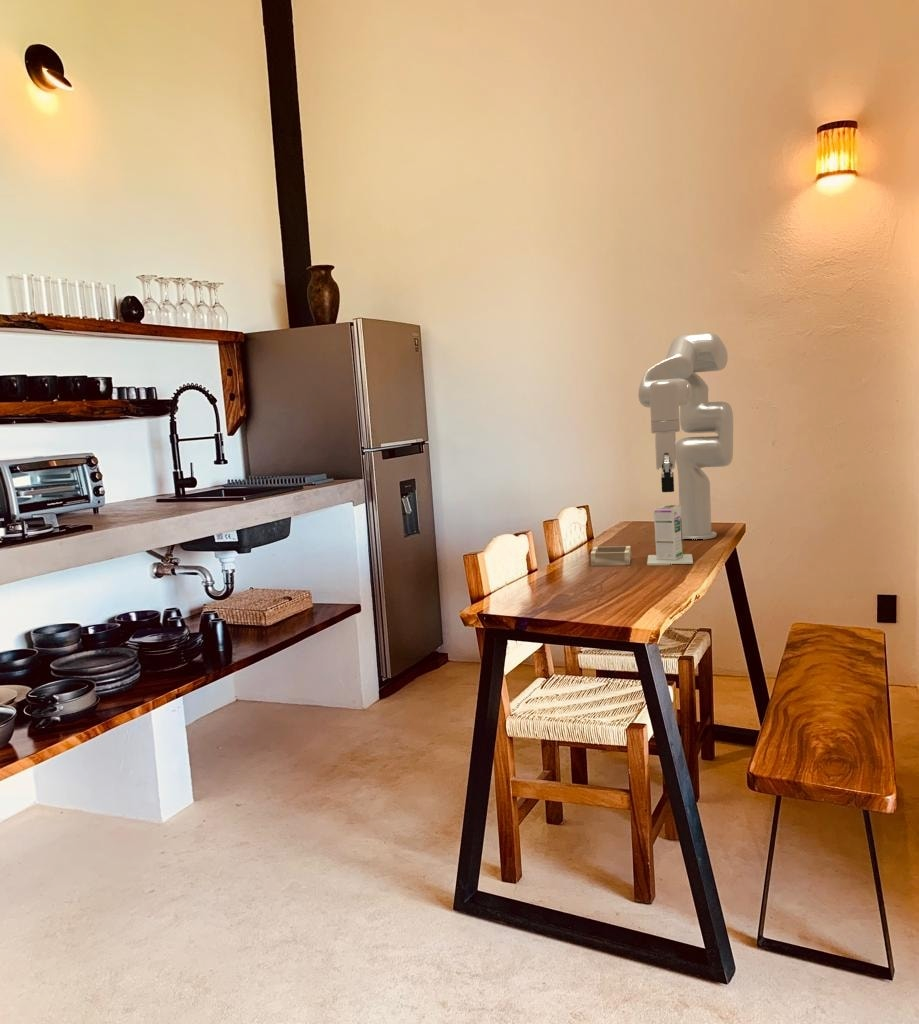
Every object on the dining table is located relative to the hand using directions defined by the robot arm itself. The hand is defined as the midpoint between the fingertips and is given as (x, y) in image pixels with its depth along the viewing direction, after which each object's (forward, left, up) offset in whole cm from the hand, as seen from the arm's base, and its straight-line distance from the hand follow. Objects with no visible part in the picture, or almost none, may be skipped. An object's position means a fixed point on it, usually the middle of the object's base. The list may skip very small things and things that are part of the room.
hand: (668, 489), depth 234 cm
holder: (+1, -16, -20) cm, 26 cm away
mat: (+1, 0, -20) cm, 20 cm away
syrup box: (0, 0, -19) cm, 19 cm away
